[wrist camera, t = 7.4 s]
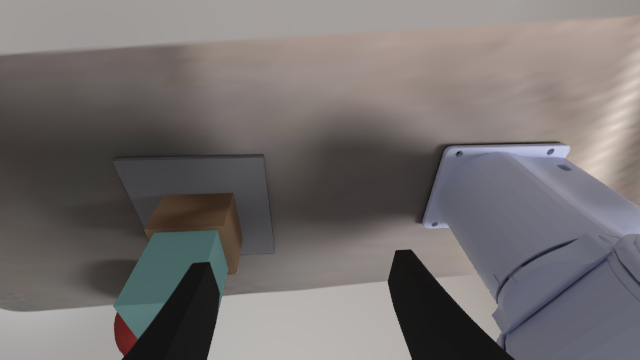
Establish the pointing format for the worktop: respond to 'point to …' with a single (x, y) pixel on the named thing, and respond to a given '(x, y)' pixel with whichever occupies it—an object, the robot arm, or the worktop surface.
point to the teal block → (167, 273)
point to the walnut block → (201, 220)
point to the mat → (204, 189)
